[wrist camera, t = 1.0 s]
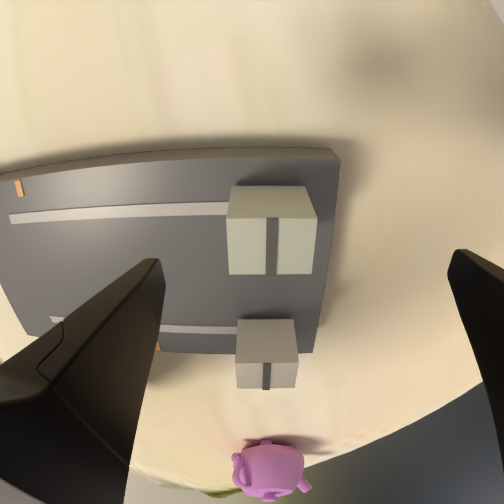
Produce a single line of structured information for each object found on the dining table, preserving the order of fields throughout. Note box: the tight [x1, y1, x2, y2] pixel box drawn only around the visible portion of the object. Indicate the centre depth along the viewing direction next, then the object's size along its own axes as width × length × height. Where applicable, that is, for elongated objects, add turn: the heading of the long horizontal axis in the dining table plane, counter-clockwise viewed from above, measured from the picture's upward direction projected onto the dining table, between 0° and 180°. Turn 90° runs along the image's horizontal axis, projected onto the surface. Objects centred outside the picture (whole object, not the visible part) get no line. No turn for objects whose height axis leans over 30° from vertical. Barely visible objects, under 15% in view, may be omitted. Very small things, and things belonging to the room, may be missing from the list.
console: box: [0, 147, 340, 354], centre depth 22 cm, size 16×28×3 cm, turn 90°
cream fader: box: [235, 319, 299, 390], centre depth 22 cm, size 3×4×4 cm
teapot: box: [231, 439, 312, 502], centre depth 39 cm, size 10×15×9 cm
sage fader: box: [226, 186, 318, 276], centre depth 16 cm, size 3×4×4 cm
